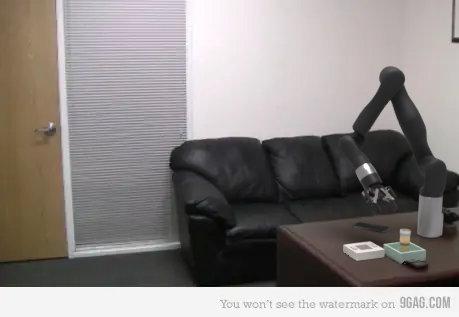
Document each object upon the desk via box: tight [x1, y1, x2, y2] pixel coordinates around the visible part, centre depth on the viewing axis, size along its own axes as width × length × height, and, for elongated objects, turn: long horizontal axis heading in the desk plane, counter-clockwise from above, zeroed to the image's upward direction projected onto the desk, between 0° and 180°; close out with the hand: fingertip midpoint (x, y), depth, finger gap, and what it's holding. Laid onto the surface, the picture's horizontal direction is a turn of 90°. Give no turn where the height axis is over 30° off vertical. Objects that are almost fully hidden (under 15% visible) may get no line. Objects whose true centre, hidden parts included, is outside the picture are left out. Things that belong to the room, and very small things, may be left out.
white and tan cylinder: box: [399, 228, 412, 253], centre depth 215 cm, size 4×4×10 cm
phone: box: [351, 221, 391, 234], centre depth 251 cm, size 8×1×15 cm
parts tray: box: [383, 241, 427, 265], centre depth 215 cm, size 11×11×4 cm
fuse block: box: [342, 241, 385, 262], centre depth 218 cm, size 12×10×3 cm
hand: (387, 211), depth 221 cm, fingers open, 8 cm apart
